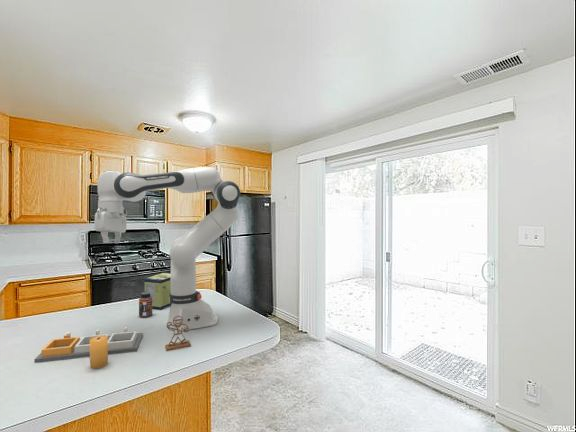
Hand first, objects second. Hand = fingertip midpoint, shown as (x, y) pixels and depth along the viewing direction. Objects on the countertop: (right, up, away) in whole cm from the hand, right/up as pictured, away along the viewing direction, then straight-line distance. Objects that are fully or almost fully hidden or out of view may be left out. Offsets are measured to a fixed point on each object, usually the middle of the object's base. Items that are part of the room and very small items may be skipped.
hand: (111, 243), depth 128 cm
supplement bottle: (+3, -38, +24) cm, 45 cm away
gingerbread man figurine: (+30, -39, -8) cm, 50 cm away
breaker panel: (-1, -39, -10) cm, 40 cm away
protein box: (+5, -37, +41) cm, 55 cm away
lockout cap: (+8, -40, -22) cm, 46 cm away
